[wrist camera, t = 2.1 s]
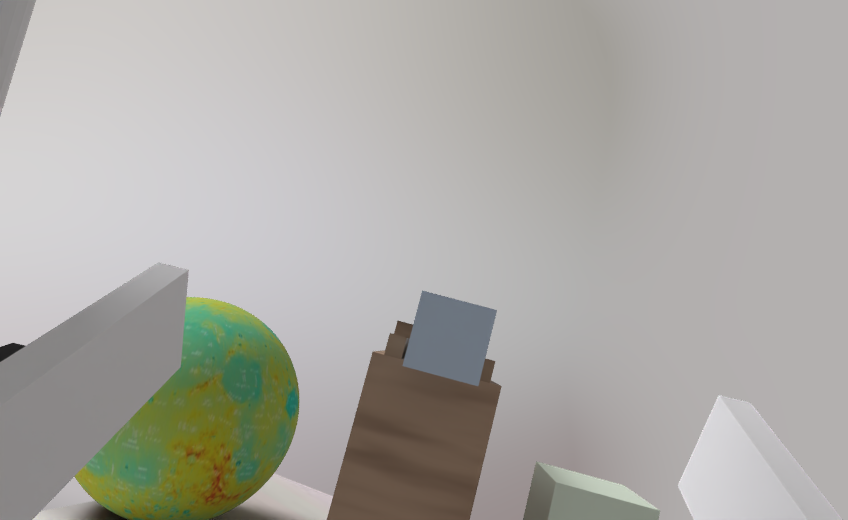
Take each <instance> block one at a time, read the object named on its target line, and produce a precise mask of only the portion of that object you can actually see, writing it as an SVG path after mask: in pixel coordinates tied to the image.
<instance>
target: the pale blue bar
mask: <svg viewBox="0 0 848 520" xmlns="http://www.w3.org/2000/svg"><path fill="white" fill-rule="evenodd" d="M496 312H497V310H494V309H490V308H487V307H482V306H479V305H475V304H471V303H467V302H463V301H459V300H456V299H452V298H448V297H445V296H441V295H437V294H433V293H429V292H426V291H422V294H421V298H420V302H419V305H418V309H417V313H416V317H415V320H414V324H413V328H412V332H411V336H410V339H409V343H408V347H407V351H406V354H405V358H404V362H403V366H404V367H408V368H412V369H416V370H419V371H423V372H427V373H430V374H434V375H438V376H442V377H445V378H449V379H453V380H456V381H460V382H464V383H468V384H471V385H475V386H479V381H480V377H481V373H482V369H483V365H484V361H485V357H486V353H487V349H488V345H489V341H490V336H491V332H492V328H493V324H494V320H495V316H496Z"/></svg>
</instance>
